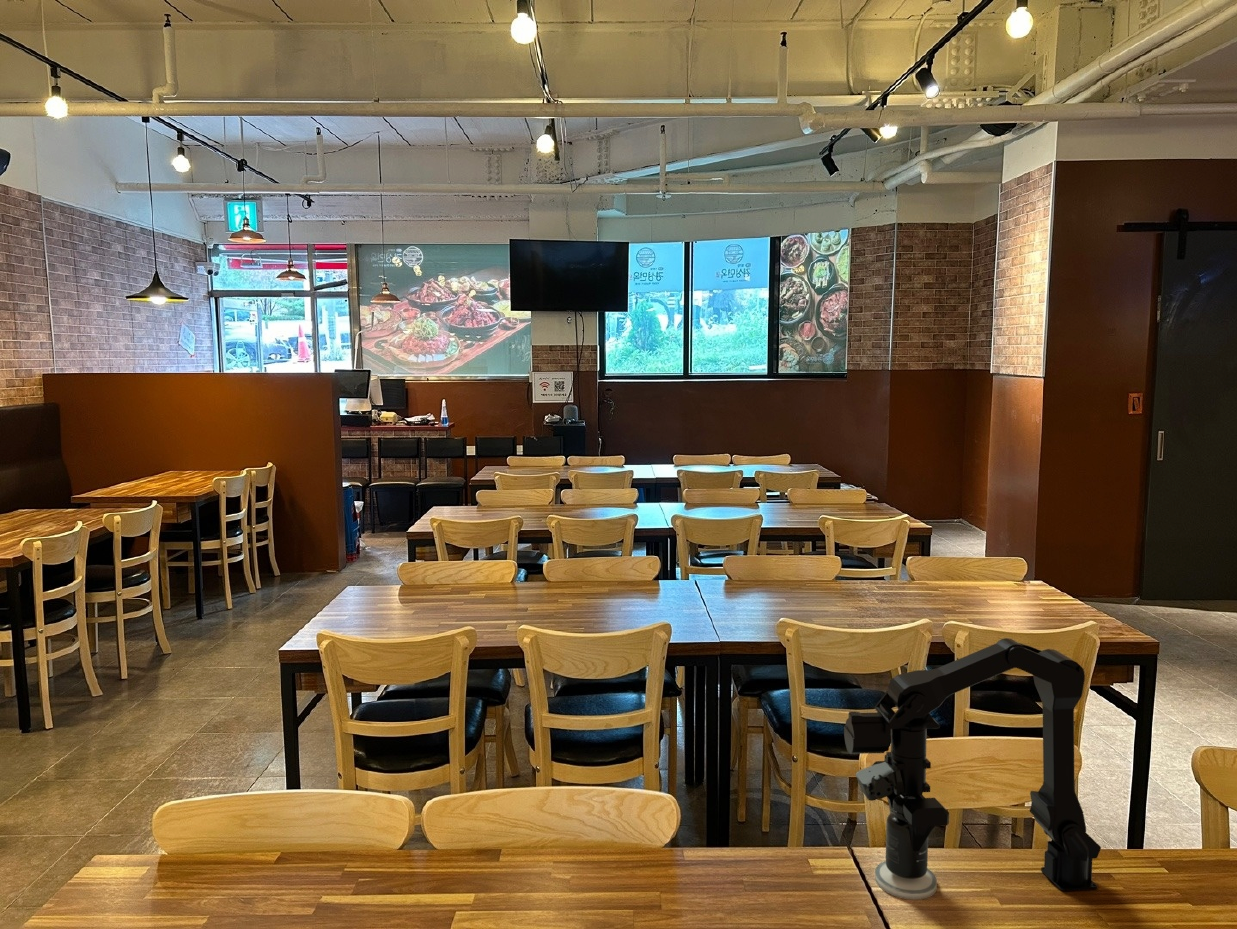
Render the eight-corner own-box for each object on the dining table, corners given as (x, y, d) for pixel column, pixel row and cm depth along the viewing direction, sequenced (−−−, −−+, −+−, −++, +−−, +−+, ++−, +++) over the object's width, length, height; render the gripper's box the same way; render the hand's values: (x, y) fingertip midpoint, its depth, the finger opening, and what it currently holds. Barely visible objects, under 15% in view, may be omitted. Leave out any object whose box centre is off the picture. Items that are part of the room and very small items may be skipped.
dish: (921, 864, 152) (921, 858, 152) (947, 898, 142) (947, 890, 142) (866, 867, 152) (866, 861, 151) (888, 901, 142) (888, 894, 141)
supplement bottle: (930, 882, 143) (931, 813, 142) (887, 878, 144) (888, 809, 143) (924, 860, 149) (925, 794, 148) (883, 856, 151) (884, 790, 150)
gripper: (843, 731, 154) (842, 815, 155) (883, 778, 135) (882, 873, 136) (903, 729, 154) (902, 812, 156) (951, 775, 136) (949, 869, 137)
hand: (906, 839), depth 146 cm, fingers closed on supplement bottle, 7 cm apart
